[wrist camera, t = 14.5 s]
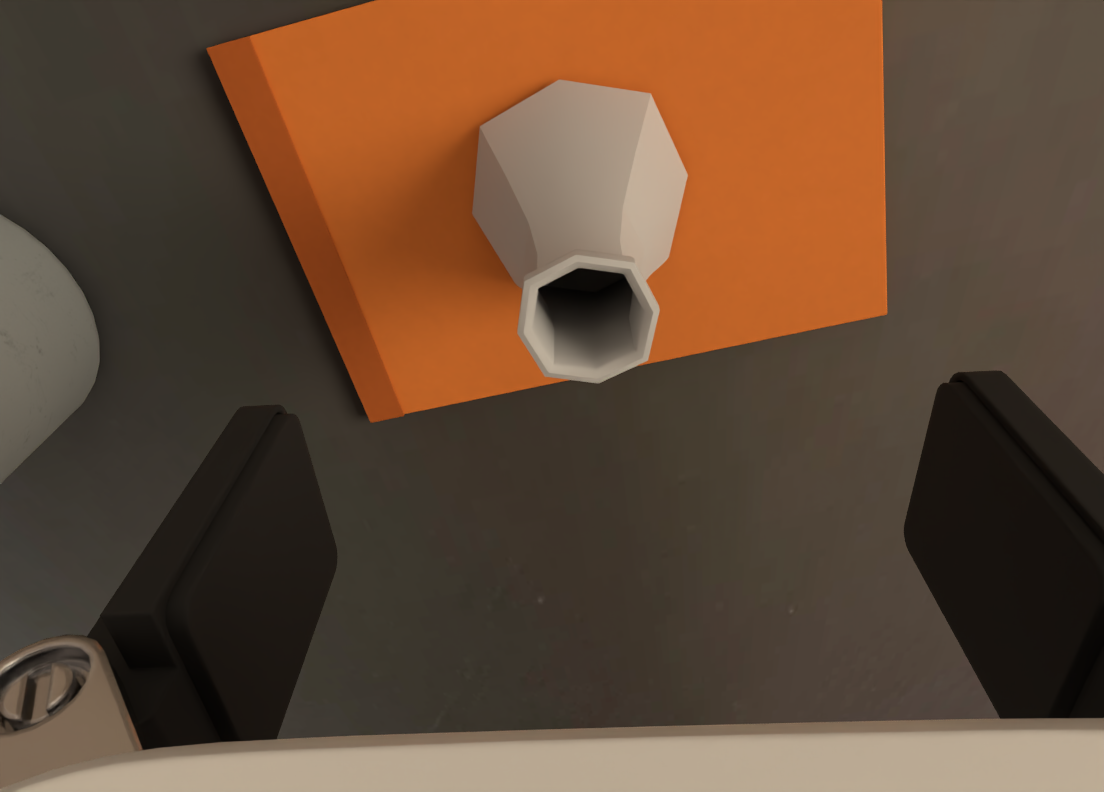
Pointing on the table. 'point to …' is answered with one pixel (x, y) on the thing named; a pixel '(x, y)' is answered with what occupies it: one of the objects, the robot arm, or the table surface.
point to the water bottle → (39, 345)
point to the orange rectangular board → (509, 78)
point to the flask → (581, 221)
